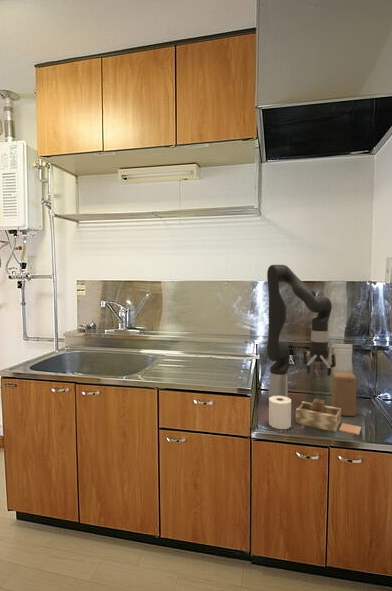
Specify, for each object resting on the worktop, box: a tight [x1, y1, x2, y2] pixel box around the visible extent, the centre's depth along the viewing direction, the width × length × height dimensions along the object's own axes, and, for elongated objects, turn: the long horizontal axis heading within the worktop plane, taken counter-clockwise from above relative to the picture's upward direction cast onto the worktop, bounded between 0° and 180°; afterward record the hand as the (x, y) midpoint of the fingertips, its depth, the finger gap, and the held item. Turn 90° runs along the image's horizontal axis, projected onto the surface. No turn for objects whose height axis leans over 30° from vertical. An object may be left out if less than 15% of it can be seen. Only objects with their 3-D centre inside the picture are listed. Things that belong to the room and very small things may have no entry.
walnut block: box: [311, 398, 326, 413], centre depth 163 cm, size 4×5×8 cm
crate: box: [295, 401, 342, 433], centre depth 163 cm, size 18×12×7 cm, turn 58°
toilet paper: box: [268, 396, 292, 430], centre depth 162 cm, size 10×10×12 cm
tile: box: [338, 422, 362, 436], centre depth 156 cm, size 8×8×1 cm
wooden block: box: [330, 370, 357, 417], centre depth 175 cm, size 10×10×20 cm
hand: (319, 374), depth 162 cm, fingers open, 8 cm apart
